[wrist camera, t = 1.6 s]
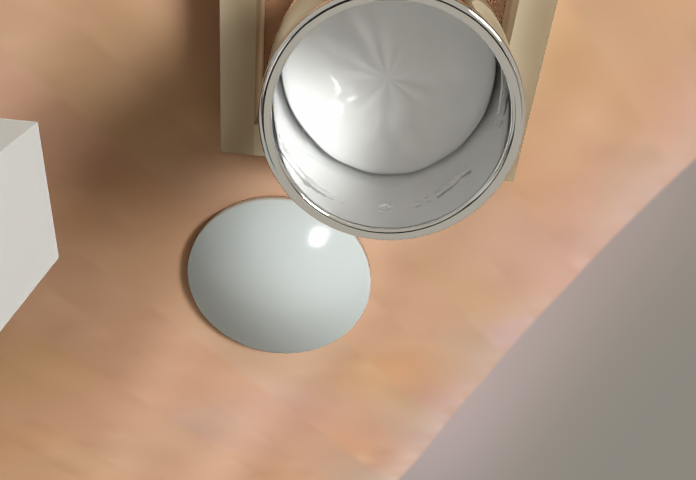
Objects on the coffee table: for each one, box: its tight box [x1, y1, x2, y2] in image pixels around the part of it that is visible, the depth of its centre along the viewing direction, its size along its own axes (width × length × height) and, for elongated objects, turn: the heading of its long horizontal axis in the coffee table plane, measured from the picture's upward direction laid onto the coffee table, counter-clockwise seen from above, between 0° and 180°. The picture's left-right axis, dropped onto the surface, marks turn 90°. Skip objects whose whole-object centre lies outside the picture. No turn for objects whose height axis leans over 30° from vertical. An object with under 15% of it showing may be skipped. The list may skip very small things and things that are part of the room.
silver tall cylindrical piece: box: [258, 0, 526, 240], centre depth 23 cm, size 7×7×15 cm
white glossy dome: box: [188, 196, 371, 353], centre depth 36 cm, size 10×10×1 cm
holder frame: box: [220, 0, 557, 181], centre depth 28 cm, size 14×14×2 cm
